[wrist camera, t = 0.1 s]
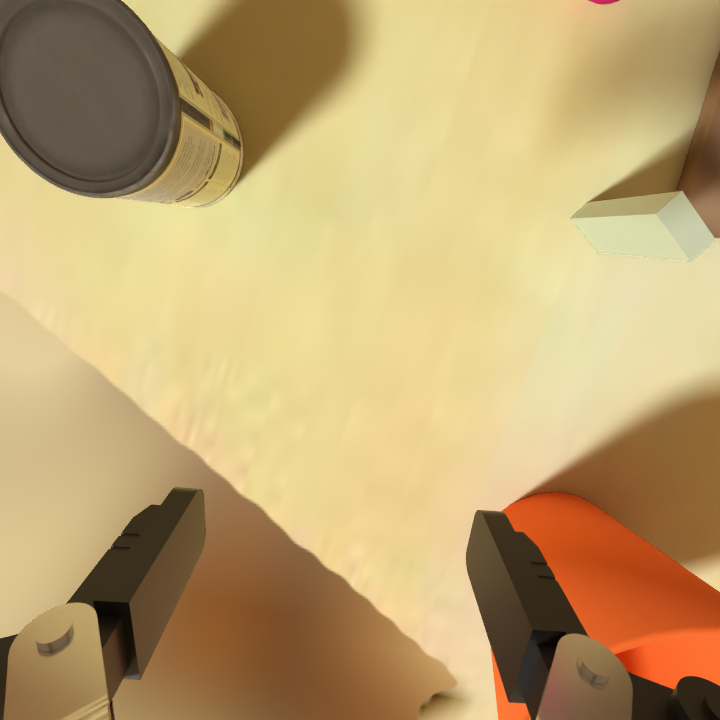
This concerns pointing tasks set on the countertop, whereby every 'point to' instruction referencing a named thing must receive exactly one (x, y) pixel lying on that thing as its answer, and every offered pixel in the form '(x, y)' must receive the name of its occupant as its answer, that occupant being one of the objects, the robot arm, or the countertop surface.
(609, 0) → the pepper mill
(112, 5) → the coffee can
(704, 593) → the flowerpot
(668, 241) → the slat
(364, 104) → the countertop surface
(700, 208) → the brown piece
